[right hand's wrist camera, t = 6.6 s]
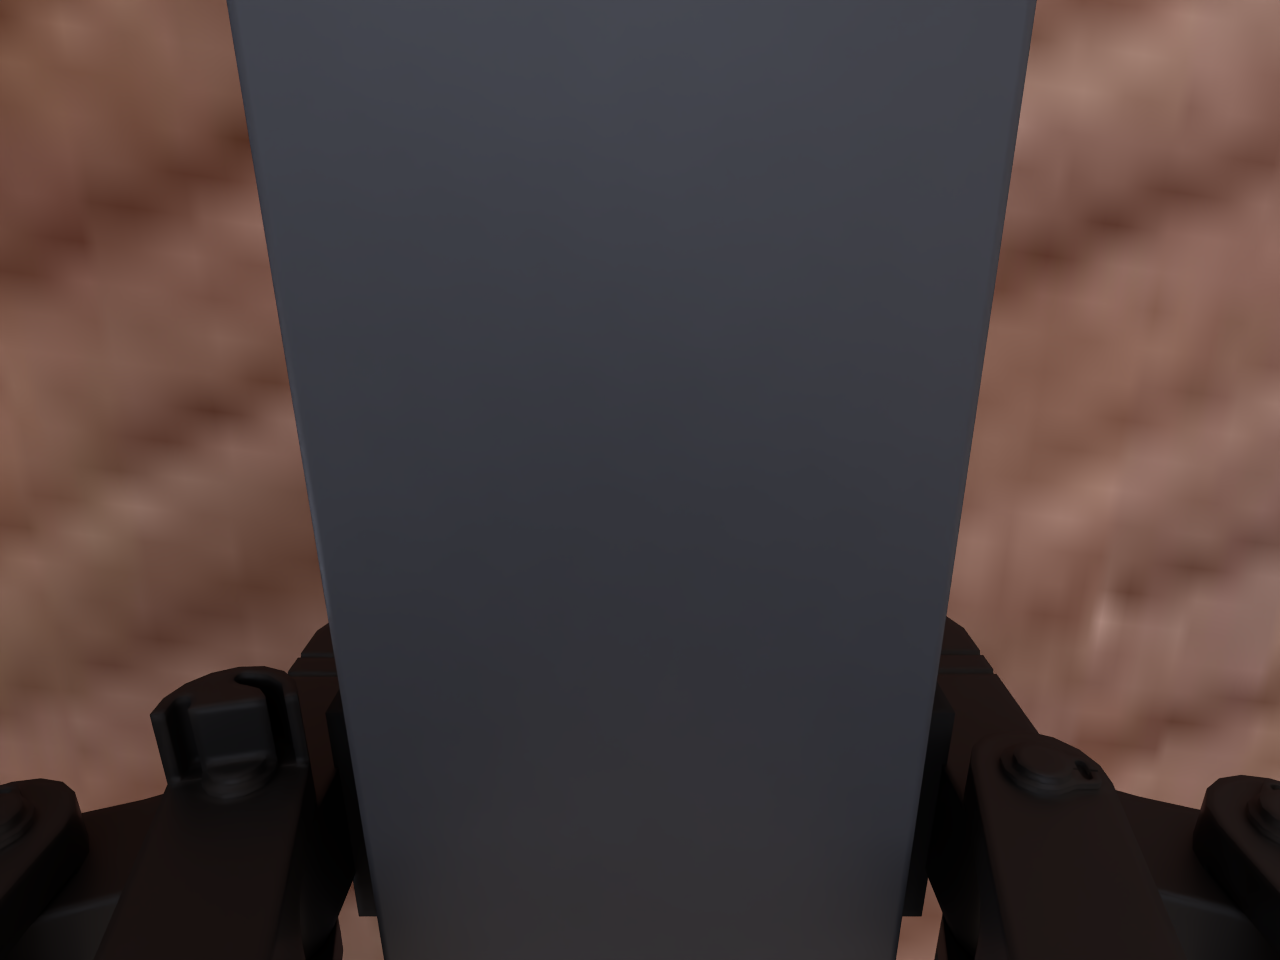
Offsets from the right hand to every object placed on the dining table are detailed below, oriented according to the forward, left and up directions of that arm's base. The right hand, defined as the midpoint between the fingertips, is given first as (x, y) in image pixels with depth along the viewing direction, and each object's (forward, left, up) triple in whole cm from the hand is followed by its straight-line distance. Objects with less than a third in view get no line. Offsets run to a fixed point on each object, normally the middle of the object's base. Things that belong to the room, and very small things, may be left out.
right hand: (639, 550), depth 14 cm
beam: (+6, -19, -1) cm, 20 cm away
